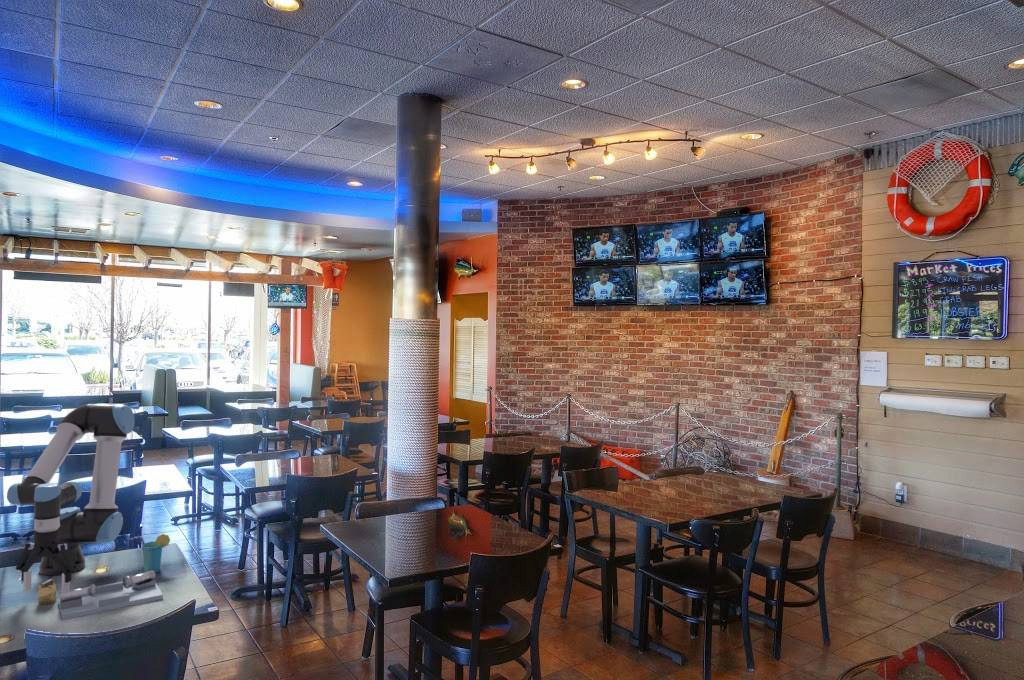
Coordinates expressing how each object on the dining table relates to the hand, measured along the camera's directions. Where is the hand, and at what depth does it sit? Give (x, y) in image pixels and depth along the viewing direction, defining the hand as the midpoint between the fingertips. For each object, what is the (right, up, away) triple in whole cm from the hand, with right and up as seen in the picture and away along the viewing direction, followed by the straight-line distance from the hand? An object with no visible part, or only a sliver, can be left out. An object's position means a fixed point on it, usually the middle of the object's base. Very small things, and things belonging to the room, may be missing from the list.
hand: (46, 590), depth 241 cm
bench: (+21, -5, +3) cm, 22 cm away
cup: (+20, -4, +31) cm, 37 cm away
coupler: (0, -4, +1) cm, 4 cm away
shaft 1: (+13, -2, -3) cm, 13 cm away
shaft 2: (+26, -3, +11) cm, 29 cm away
